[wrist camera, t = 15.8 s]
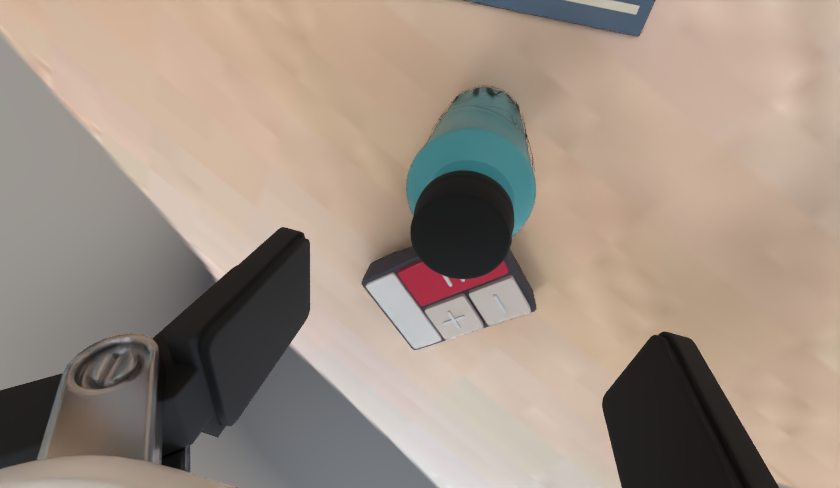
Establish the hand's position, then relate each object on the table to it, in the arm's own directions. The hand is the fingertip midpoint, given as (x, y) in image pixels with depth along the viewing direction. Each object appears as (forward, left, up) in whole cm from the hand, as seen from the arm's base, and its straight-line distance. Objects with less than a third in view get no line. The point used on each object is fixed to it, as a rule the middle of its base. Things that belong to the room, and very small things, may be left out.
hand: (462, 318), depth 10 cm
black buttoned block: (-1, +17, -24) cm, 30 cm away
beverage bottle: (0, 0, -24) cm, 24 cm away
